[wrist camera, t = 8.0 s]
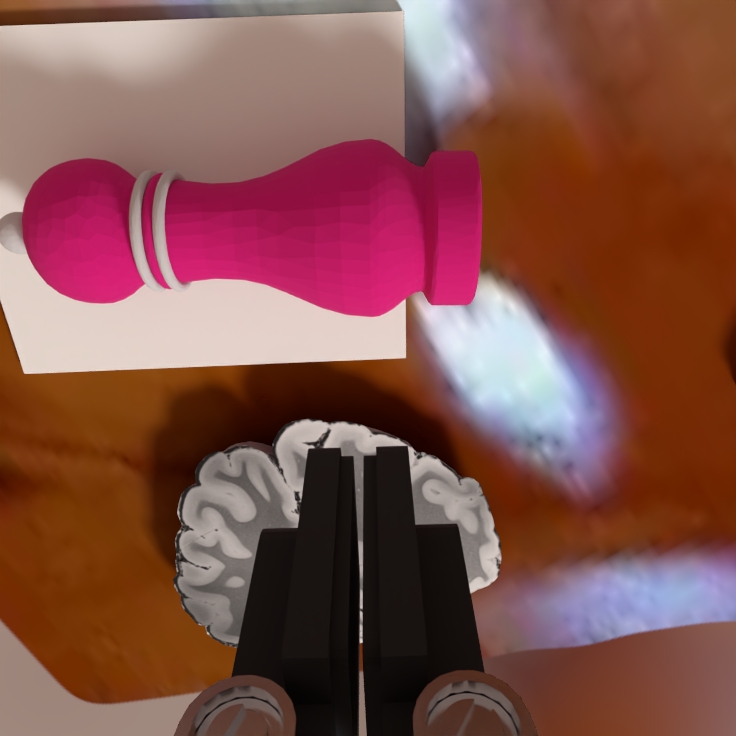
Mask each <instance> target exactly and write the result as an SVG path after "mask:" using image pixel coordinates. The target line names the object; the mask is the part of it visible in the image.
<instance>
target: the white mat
mask: <svg viewBox="0 0 736 736" xmlns="http://www.w3.org/2000/svg"><path fill="white" fill-rule="evenodd" d="M365 139H374V140H380V141H382V142H384V143H386V144H388V145H389V146H391V147H392V148H394V149H395V150H396V151H397V152H399V153H400V154H401V155H402V156H403V157H405V87H404V11H393V12H366V13H339V14H312V15H285V16H258V17H231V18H204V19H177V20H150V21H123V22H95V23H68V24H41V25H14V26H0V219H1V218H2V217H3V216H5V215H7V214H9V213H11V212H23V207H24V203H25V199H26V197H27V195H28V193H29V191H30V189H31V187H32V185H33V183H34V182H35V181H36V180H37V179H38V178H39V177H40V176H41V175H42V174H43V173H44V172H46V171H47V170H48V169H50V168H51V167H53V166H56V165H58V164H60V163H63V162H66V161H69V160H76V159H83V158H92V159H100V160H107V161H109V162H112V163H115V164H117V165H119V166H120V167H122V168H123V169H125V170H126V171H127V172H129V173H130V174H131V175H132V176H134V177H135V178H138V177H139V176H140V174H141V173H142V172H144V171H147V170H153V171H156V172H158V173H165V172H166V171H168V170H175V171H178V172H179V173H180V174H181V175H182V176H183V177H184V178H185V180H186V181H193V182H203V183H232V182H242V181H246V180H250V179H254V178H258V177H262V176H265V175H267V174H270V173H272V172H274V171H277V170H279V169H281V168H284V167H286V166H288V165H290V164H292V163H294V162H296V161H298V160H300V159H302V158H304V157H306V156H308V155H310V154H312V153H314V152H316V151H317V150H319V149H323V148H326V147H329V146H332V145H335V144H338V143H341V142H346V141H355V140H365ZM0 300H1V304H2V307H3V310H4V313H5V316H6V319H7V322H8V325H9V328H10V331H11V334H12V337H13V340H14V343H15V346H16V350H17V353H18V356H19V359H20V362H21V365H22V368H23V371H24V374H32V373H56V372H80V371H104V370H128V369H152V368H176V367H201V366H225V365H249V364H273V363H297V362H321V361H345V360H369V359H393V358H406V299H405V300H403V301H402V302H401V303H400V304H399V305H397V306H396V307H395V308H394V309H392V310H390V311H389V312H387V313H385V314H383V315H381V316H377V317H364V316H352V315H345V314H341V313H338V312H334V311H330V310H327V309H323V308H321V307H318V306H316V305H314V304H311V303H309V302H307V301H304V300H302V299H300V298H297V297H295V296H293V295H290V294H288V293H286V292H283V291H281V290H278V289H275V288H273V287H270V286H268V285H265V284H260V283H255V282H251V281H246V280H232V279H209V280H200V281H192V283H191V285H190V287H189V288H188V289H187V290H185V291H182V292H178V291H174V290H173V289H166V290H165V291H162V292H156V291H153V290H152V289H150V288H149V287H148V286H147V285H146V284H145V285H143V286H142V287H141V288H139V289H138V290H137V291H136V292H135V293H134V294H132V295H131V296H129V297H127V298H126V299H124V300H121V301H118V302H115V303H105V304H98V303H86V302H82V301H78V300H74V299H71V298H69V297H67V296H64V295H62V294H60V293H58V292H57V291H56V290H54V289H53V288H52V287H50V286H49V285H47V284H46V282H45V281H44V280H43V279H42V277H41V276H40V275H39V274H38V273H37V271H36V270H35V268H34V267H33V265H32V263H31V261H30V259H29V257H28V254H16V253H13V252H10V251H8V250H7V249H5V248H4V247H3V246H2V245H1V243H0Z"/></svg>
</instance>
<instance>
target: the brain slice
mask: <svg viewBox="0 0 736 736" xmlns="http://www.w3.org/2000/svg"><path fill="white" fill-rule="evenodd" d="M378 446H408V451H409V461H410V472H411V483H412V493H413V504H414V514H415V525H419V524H457V525H458V527H459V532H460V536H461V542H462V548H463V553H464V559H465V565H466V570H467V576H468V582H469V587H470V593H472V592H474V591H476V590H478V589H481V588H484V587H486V586H488V585H489V584H491V583H492V582H494V581H495V580H496V578H497V577H498V575H499V570H500V563H501V543H500V539H499V535H498V533H497V532H496V530H495V526H494V521H493V517H492V514H491V511H490V507H489V504H488V502H487V499H486V496H485V495H483V494H482V493H483V492H482V489H481V486H480V484H479V483H478V482H477V481H476V480H474V479H473V478H469V477H463V478H462V477H461V476H460V475H458V474H457V473H456V472H455V470H453V469H452V468H451V467H449V466H448V465H447V464H445V463H444V462H443V461H441V460H440V459H439V458H437V457H436V456H434V455H428V454H426V453H424V452H420V453H418V452H416V451H415V450H414V449H413V448H412V446H411V445H410V444H409V443H408V442H406V441H405V440H402V439H400V438H398V437H396V436H393V435H391V434H389V433H386V432H383V431H380V430H377V429H374V428H370V427H366V426H364V425H361V424H357V423H352V422H347V421H333V422H329V423H328V422H325V421H322V420H317V419H302V420H295V421H292V422H290V423H288V424H286V425H284V426H283V427H282V428H281V430H280V431H279V432H278V434H277V435H276V437H275V439H274V440H273V446H272V447H271V446H269V445H266V444H263V443H257V442H251V441H249V442H243V443H237V444H234V445H232V446H230V447H228V448H227V449H226V450H225V451H216V452H213V453H211V454H209V455H207V456H206V457H205V458H204V459H203V460H202V461H201V462H200V463H199V465H198V466H197V468H196V470H195V480H196V483H195V484H193V485H191V486H189V487H188V488H186V489H185V491H184V492H183V493H182V494H181V497H180V501H179V504H178V511H177V514H178V517H179V520H180V522H181V524H182V526H181V528H180V529H179V531H178V533H177V536H176V539H175V547H176V561H175V564H176V569H177V575H176V576H175V578H174V579H173V581H174V586H175V588H176V590H177V591H178V593H179V594H180V596H181V605H182V606H183V608H184V610H185V611H186V612H187V613H188V614H189V615H190V616H191V617H192V619H193V620H194V621H195V622H196V623H197V624H199V625H203V626H205V628H206V631H207V634H208V635H210V636H211V637H212V638H213V639H215V640H217V641H218V642H220V643H222V644H224V645H228V646H231V647H236V648H237V647H238V642H239V637H240V632H241V627H242V622H243V617H244V612H245V607H246V602H247V597H248V592H249V587H250V582H251V577H252V572H253V566H254V561H255V556H256V551H257V546H258V541H259V537H260V533H261V531H262V529H266V528H298V522H299V514H300V506H301V498H302V491H303V483H304V475H305V468H306V460H307V453H308V449H309V448H341V454H342V456H353V457H354V472H355V491H356V510H357V528H358V547H359V565H360V643H363V639H362V629H363V457H364V455H376V447H378Z"/></svg>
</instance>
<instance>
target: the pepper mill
mask: <svg viewBox="0 0 736 736" xmlns="http://www.w3.org/2000/svg"><path fill="white" fill-rule="evenodd" d="M481 236H482V186H481V175H480V168H479V163H478V158H477V156H476V154H475V153H474V152H472V151H433V152H432V153H431V154H430V156H429V158H428V160H427V162H426V164H425V165H424V166H423V167H420V166H416V165H415V164H413V163H411V162H409V161H408V160H407V159H406V158H405V157H403V156H402V155H401V154H400V153H399V152H397V151H396V150H395V149H394V148H392V147H391V146H389V145H388V144H386V143H384V142H382V141H380V140H374V139H365V140H355V141H346V142H341V143H338V144H335V145H332V146H329V147H326V148H323V149H319V150H317V151H316V152H314V153H312V154H310V155H308V156H306V157H304V158H302V159H300V160H298V161H296V162H294V163H292V164H290V165H288V166H286V167H284V168H281V169H279V170H277V171H274V172H272V173H270V174H267V175H265V176H262V177H258V178H254V179H250V180H246V181H242V182H232V183H203V182H193V181H186V180H185V178H184V177H183V176H182V175H181V174H180V173H179V172H178V171H175V170H168V171H166V172H165V173H158V172H156V171H153V170H147V171H144V172H142V173H141V174H140V176H139V177H138V178H135V177H134V176H132V175H131V174H130V173H129V172H127V171H126V170H125V169H123V168H122V167H120V166H119V165H117V164H115V163H112V162H109V161H107V160H100V159H92V158H83V159H76V160H69V161H66V162H63V163H60V164H58V165H56V166H53V167H51V168H50V169H48V170H47V171H46V172H44V173H43V174H42V175H41V176H40V177H39V178H38V179H37V180H36V181H35V182H34V183H33V185H32V187H31V189H30V191H29V193H28V195H27V197H26V199H25V203H24V207H23V212H11V213H9V214H7V215H5V216H3V217H2V218H1V219H0V243H1V245H2V246H3V247H4V248H5V249H7V250H8V251H10V252H13V253H16V254H28V257H29V259H30V261H31V263H32V265H33V267H34V268H35V270H36V271H37V273H38V274H39V275H40V276H41V277H42V279H43V280H44V281H45V282H46V284H47V285H49V286H50V287H52V288H53V289H54V290H56V291H57V292H58V293H60V294H62V295H64V296H67V297H69V298H71V299H74V300H78V301H82V302H86V303H98V304H105V303H115V302H118V301H121V300H124V299H126V298H127V297H129V296H131V295H132V294H134V293H135V292H136V291H137V290H138V289H139V288H141V287H142V286H143V285H145V284H146V285H147V286H148V287H149V288H150V289H152V290H153V291H156V292H162V291H165V290H166V289H173V290H174V291H178V292H182V291H185V290H187V289H188V288H189V287H190V285H191V283H192V281H200V280H209V279H232V280H246V281H251V282H255V283H260V284H265V285H268V286H270V287H273V288H275V289H278V290H281V291H283V292H286V293H288V294H290V295H293V296H295V297H297V298H300V299H302V300H304V301H307V302H309V303H311V304H314V305H316V306H318V307H321V308H323V309H327V310H330V311H334V312H338V313H341V314H345V315H352V316H364V317H377V316H381V315H383V314H385V313H387V312H389V311H390V310H392V309H394V308H395V307H396V306H397V305H399V304H400V303H401V302H402V301H403V300H405V299H406V298H407V297H408V296H410V295H412V294H413V293H415V292H419V291H422V292H423V293H424V295H425V297H426V299H427V300H428V302H429V303H430V304H431V305H468V304H470V303H471V302H472V300H473V298H474V296H475V292H476V288H477V283H478V276H479V267H480V256H481Z"/></svg>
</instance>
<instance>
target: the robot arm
mask: <svg viewBox="0 0 736 736" xmlns="http://www.w3.org/2000/svg"><path fill="white" fill-rule="evenodd" d="M362 639H363V675H364V692H365V708H366V709H365V710H366V728H367V736H539V735H538V732H537V729H536V727H535V724H534V722H533V719H532V717H531V714H530V712H529V711H528V709H527V707H526V705H525V703H524V702H523V700H522V698H521V697H520V696H519V695H518V694H517V693H516V692H515V691H514V690H513V689H512V688H511V687H510V686H509V685H508V684H507V683H505V682H503V681H502V680H500V679H498V678H496V677H495V676H493V675H491V674H487V673H485V672H484V667H483V661H482V655H481V650H480V644H479V638H478V633H477V627H476V621H475V616H474V610H473V604H472V599H471V593H470V587H469V582H468V576H467V570H466V565H465V559H464V553H463V548H462V542H461V536H460V532H459V527H458V525H457V524H419V525H415V514H414V504H413V493H412V483H411V472H410V461H409V451H408V446H378V447H376V455H364V457H363V629H362ZM359 657H360V565H359V547H358V528H357V510H356V491H355V472H354V457H353V456H342V454H341V448H309V449H308V453H307V460H306V468H305V475H304V483H303V491H302V498H301V506H300V514H299V522H298V528H266V529H262V531H261V533H260V537H259V541H258V546H257V551H256V556H255V561H254V566H253V572H252V577H251V582H250V587H249V592H248V597H247V602H246V607H245V612H244V617H243V622H242V627H241V632H240V637H239V642H238V647H237V652H236V657H235V662H234V667H233V672H232V677H231V678H227V679H224V680H221V681H219V682H217V683H215V684H214V685H212V686H210V687H209V688H207V689H205V690H204V691H203V692H202V693H201V694H200V695H199V696H198V697H197V698H196V699H195V700H194V701H193V702H192V703H191V704H190V705H189V706H188V708H187V710H186V712H185V713H184V715H183V717H182V719H181V720H180V722H179V724H178V727H177V729H176V732H175V734H174V736H359Z"/></svg>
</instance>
